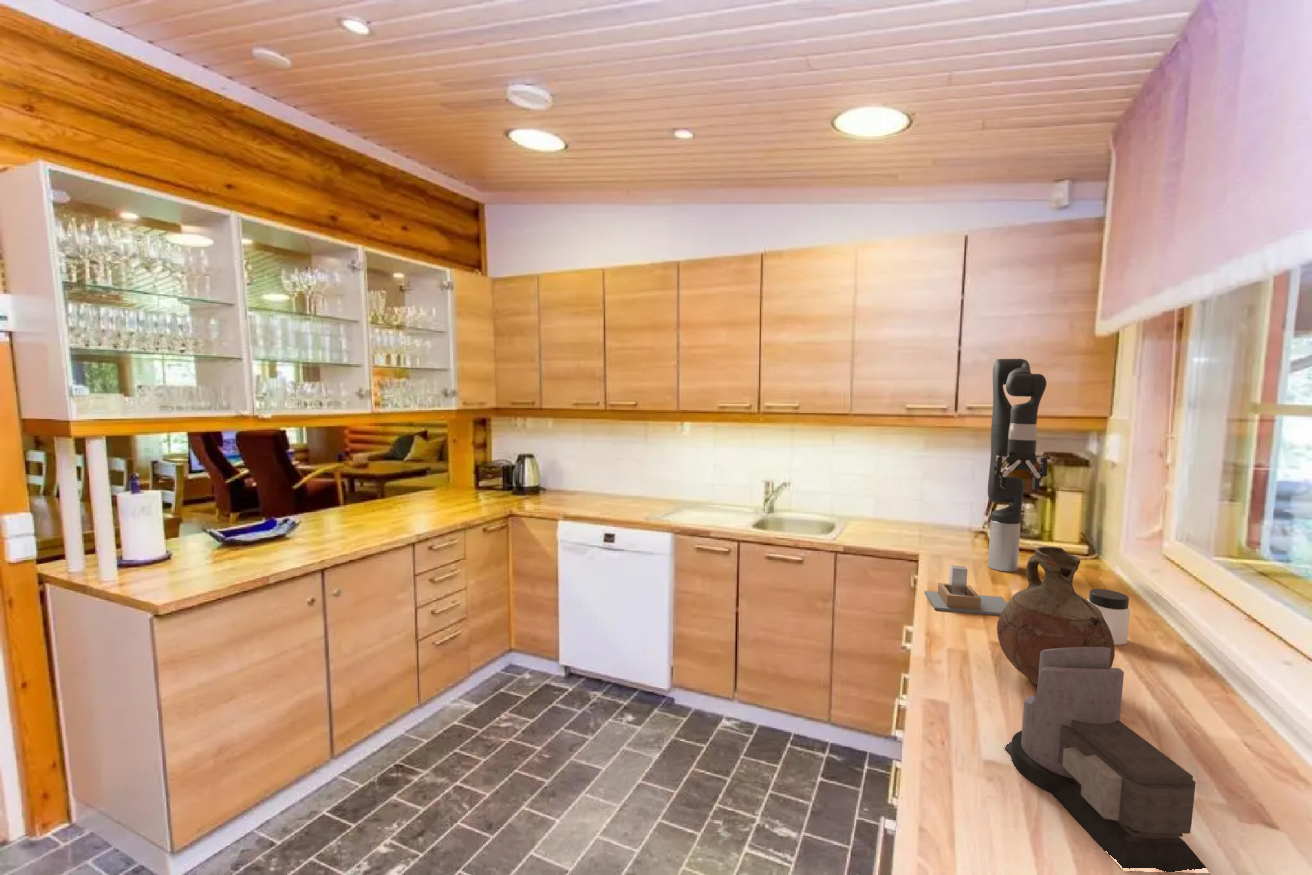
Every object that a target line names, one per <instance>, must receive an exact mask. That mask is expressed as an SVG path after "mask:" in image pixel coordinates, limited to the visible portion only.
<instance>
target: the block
mask: <svg viewBox="0 0 1312 875" xmlns="http://www.w3.org/2000/svg"><path fill="white" fill-rule="evenodd" d="M967 583H968V568H967V567H966V566H963V565H954V564H953V565H952V564H951V565H949V583H948V584H949V592H950V594H954V595H966V585H968V584H967Z"/></svg>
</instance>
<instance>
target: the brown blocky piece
mask: <svg viewBox="0 0 1312 875" xmlns="http://www.w3.org/2000/svg"><path fill="white" fill-rule="evenodd" d="M1110 653H1111V650H1110V649H1109V648H1106V647H1068V648H1054V649H1046V650H1042V651H1041V652H1040V663H1039V677H1038V685H1036V686H1037V687H1036V690H1035V693H1034V695H1028V696H1027V697H1026V698H1025V699H1024V700H1023V713H1022V716H1023V717H1022V726H1021V727H1022V728H1021V730H1019V731H1017V732H1016V733H1015V734H1013V737H1012V738H1011V741H1010V742H1009V744H1008V743H1007V745H1006V744H1005V746H1006V747H1005V746H1004V747H1005V749H1004V751H1005V752H1006V751H1007V752H1008V753H1009V754H1010V755H1011V756H1010V755H1009V754H1008V753H1007V752H1006V753H1007V754H1008V755H1009V756H1010V759H1012V760H1011V763H1012V762H1013V763H1012V764H1014V765H1013V766H1015V767H1016V768H1015V767H1014V768H1015V769H1016V770H1017V771H1018V773H1019V774H1020V775H1021V774H1022V776H1023V778H1025V780H1027V781H1028V782H1030V783H1031V784H1033V785H1034V786H1036V787H1038V788H1039V789H1041V790H1043V791H1045V792H1047V793H1049V794H1051V795H1052V796H1053V797H1054V798H1055V799H1056V801H1057V802H1059V804H1060V805H1061V806H1062V808H1064V809H1065V811H1067V813H1069V815H1070V816H1071V817H1072V818H1073V819H1074V820H1075V821H1076V822H1077V823H1078V824H1079V825H1080V826H1081V827H1082V829H1083V830H1084V831H1085V832H1086V833H1087V834H1088V835H1089V836H1090V837H1091V838H1092V840H1094V841H1095V843H1096V844H1097V845H1098V846H1099V847H1100V848H1101V847H1102V848H1101V849H1102V850H1103V851H1104V852H1105V851H1107V852H1108V854H1109V855H1111V856H1112V857H1113V858H1114V859H1116V860H1117V862H1118V863H1119V864H1120V865H1121V866H1122V868H1129V869H1130V868H1156V869H1159V870H1162V871H1164V872H1165V871H1166V872H1175V871H1182V870H1187V869H1189V870H1192V869H1194V870H1195V869H1202V868H1207V866H1206V865H1205V864H1204V863H1203V862H1202V860H1201V859H1200V858H1199V857H1198V856H1197V854H1195V852H1194V851H1193V850H1192V849H1191V847H1190V846H1189V845H1188V844H1187V843H1186V841H1185V840H1183V839H1182V837H1183V838H1184V835H1186V834H1191V830H1192V829H1191V828H1192V822H1193V812H1194V802H1195V792H1196V781H1195V780H1194V778H1193V777H1194V775H1192V774H1191V773H1189V771H1187V770H1186V769H1184V768H1183V767H1181V765H1179V764H1178V763H1176V762H1175V761H1173V759H1171V758H1170V757H1168V756H1167V755H1166V754H1165V753H1163V752H1162V751H1160V750H1159V749H1158V748H1156V747H1155V746H1154V745H1152V744H1151V743H1150V742H1149V741H1147V740H1146V739H1144V738H1143V737H1142V736H1140V735H1139V734H1138V733H1136V732H1135V731H1134V730H1132V729H1131V728H1130V727H1129V726H1128V725H1126V724H1124V723H1123V722H1122V721H1121V713H1122V712H1121V710H1122V698H1123V686H1124V674H1125V672H1124V671H1123V669H1121V668H1119V667H1111V668H1109V665H1110ZM1108 854H1107V855H1108ZM1109 855H1108V856H1109Z"/></svg>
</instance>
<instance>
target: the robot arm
mask: <svg viewBox="0 0 1312 875" xmlns="http://www.w3.org/2000/svg"><path fill="white" fill-rule="evenodd" d="M992 366H993V367H992V412H991V413H992V416H991V425H990V426H991V427H990V428H991V429H990V430H991V431H990V462H989V471H988V472H989V473H988V480H987V497H988V499H989V501H991V502H997V503H1008V504H1009V503H1010V504H1009V505H1008V506H1006V507H1004V508H1001V509H996V510H993V511H991V513H990V523H989V541H988V554H987V556H988V558H987V567H988V568H990V569H992V570H995V571H1000V572H1009V573H1010V572H1011V573H1012V572H1017V571H1018V569H1019V567H1018V566H1019V555H1020V553H1019V552H1020V541H1021V540H1020V537H1021V522H1022V510H1023V509H1022V507H1023V501H1024V500H1023V499H1024V491H1025V483H1024V480H1023V478H1022V477H1017V476H1008V475H1009V474H1010V473H1012V472H1013V471H1028V472H1029V473H1030V474H1031V475H1032V479H1031V489H1032V490H1033V491H1038V489H1039V488H1040V479H1042V478H1044V477H1047V476H1048V458H1047V457H1045V456H1039V457H1038V456H1036V453H1037V439H1038V429H1037V422H1038V410H1039V407H1040V404H1041V400H1042V397H1043V395H1044V393H1045V391H1046V388H1047V383H1048V382H1047V379H1046V377H1045V376H1044V375H1043V374H1041V373H1032V372H1031V366H1030V362H1029V361H1027V359H1023V358H999V359H996V360H994V363H993V365H992ZM1004 386H1005V390H1006V393H1007V394H1008V395H1009V396H1012V397H1027V398H1029V397H1030V399H1029V400H1028V401H1027V402H1025V403H1018V404H1014V405H1012V404H1011V403H1010V401H1009V399H1008V397H1007V395H1006V393H1005V390H1004ZM1005 462H1007V464H1006V465H1005V467H1004V468H1003V470H1002V467H1003V466H1004V464H1005ZM1036 463H1037V464H1038V465H1039V472H1038V470H1037V469H1036V467H1035V466H1034V464H1036Z"/></svg>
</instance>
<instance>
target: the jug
mask: <svg viewBox="0 0 1312 875" xmlns="http://www.w3.org/2000/svg"><path fill="white" fill-rule="evenodd" d="M1080 564H1081V559H1080V558H1079V557H1078V556H1076V555H1074V554H1071V553H1069V552H1067V551H1066V550H1065V549H1064V548H1062V547H1057V546H1047V545H1046V546H1045V545H1044V546H1038V547H1036V548H1035V549H1034V554H1033V555H1031V556H1029V558H1028V560H1027V564H1026V567H1025V574H1026V579H1027V582H1028V585H1027V587H1026V588H1024V589H1022V590H1020V591H1017V592H1016V593H1014V595H1012V597H1011V598H1010V600H1009V601H1008V602H1007V605H1006V606H1005V608H1004V609H1003V611H1002V613H1001V615H1000V616H999V618H998V619H997V624H996V634H997V639H998V643H999V646H1000V648H1001V650H1002V652H1003V654H1004V655H1005V657H1006V659H1007V660H1008V661H1009V663H1011V665H1012V666H1013V667H1014V668H1015V669H1016V670H1017V671H1018V672H1020V674H1022V675H1023V676H1024V677H1026V678H1027V679H1029V681H1030V682H1031V683H1032V684H1034V685H1036V686H1038V677H1039V663H1040V652H1041V651H1042V650H1046V649H1054V648H1068V647H1106V648H1109V649H1110V650H1111V653H1110V665H1109V668H1113V667H1112V666H1113V664H1114V659H1115V656H1116V655H1115V654H1116V653H1115V652H1116V651H1115V650H1116V648H1115V645H1114V640H1113V637H1112V634H1111V631H1110V629H1109V627H1108V625H1107V623H1106V622H1105V620H1104V618H1103V616H1102V613H1101V611H1100V610H1099V609H1098V608H1097V607H1096V606H1095V605H1093V604H1092V603H1091V602H1089V601H1088V600H1087V598H1085V597H1083V596H1082V595H1081V594H1078V593H1077V592H1076V590H1075V588H1074V585H1073V584H1074V583H1073V582H1074V581H1073V580H1074V576H1075V574H1076V572H1077V571H1078V570H1079V566H1080ZM1039 566H1040V567H1041V568H1042V569H1043V571H1044V578H1043V580H1041V578H1040V574H1039Z"/></svg>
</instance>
